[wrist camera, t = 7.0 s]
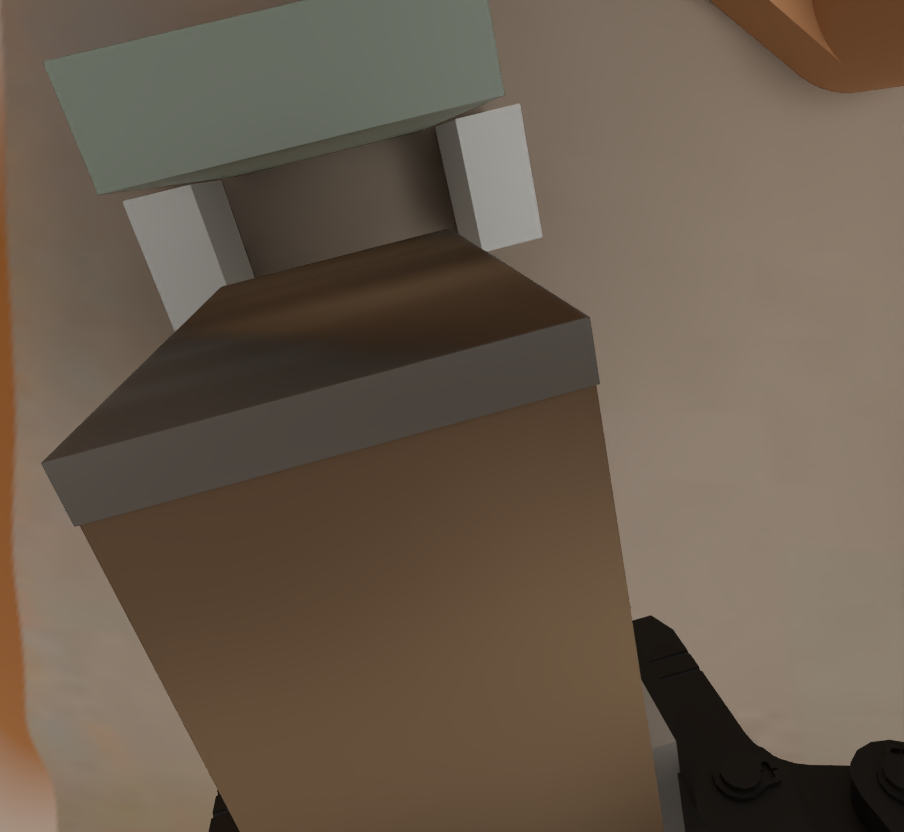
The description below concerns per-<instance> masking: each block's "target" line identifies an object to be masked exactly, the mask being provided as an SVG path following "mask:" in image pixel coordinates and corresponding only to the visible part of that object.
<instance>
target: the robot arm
mask: <svg viewBox="0 0 904 832" xmlns="http://www.w3.org/2000/svg"><path fill="white" fill-rule="evenodd" d="M632 623H633V629H634V636H635V642H636V649H637V656H638V662H639V669H640V675H641V682H642V688H643V695H644V701H645V708H646V715H647V721H648V728H649V734H650V741H651V747H652V754H653V760H654V767H655V774H656V780H657V787H658V793H659V800H660V806H661V813H662V820H663V826H664V832H904V742H899V741H894V740H884V741H876V742H870V743H869V744H867V745H865V746H864V747H862V748H860V749H858V750H857V752H856V753H855V755H854V757H853V759H852V761H851V765H850V766H834V765H805V764H796V763H792V762H789V761H786V760H782V759H779V758H777V757H775V756H773V755H772V754H770V753H769V752H768V751H767V750H765V749H764V748H762V747H759V746H757V745H756V744H755V743H753V741H752V740H751V739H750V738H749V737H748V736H747V735H746V733H745V732H744V731H743V729H742V728H741V727H740V725H739V724H738V722H737V721H736V719H735V718H734V716H733V715H732V714H731V712H730V711H729V709H728V708H727V706H726V705H725V704H724V702H723V701H722V699H721V698H720V696H719V695H718V693H717V692H716V691H715V689H714V688H713V686H712V685H711V683H710V682H709V681H708V679H707V678H706V676H705V675H704V673H703V672H702V671H700V669H699V666H698V665H697V663H696V662H695V660H694V659H693V658H692V656H691V655H690V654H689V653H688V651H687V649H686V647H685V646H684V645H683V643H682V642H681V640H680V639H679V637H678V636H677V635H676V633H675V632H674V630H673V629H671V628H670V627H668V626H667V625H665V624H663V623H662V622H660V621H659V620H657V619H656V618H654V617H653V616H647V617H644V618H640V619H637V620H633V621H632ZM217 792H218V796H216V799H215V804H214V809H213V818H212V819H211V823H210V828H209V832H240V831H239V829H238V827H237V825H236V823H235V821H234V819H233V818H232V816H231V814H230V812H229V810H228V808H227V806H226V804H225V802H224V800H223V798H222V797H221V795H220V793H219V791H218V790H217Z"/></svg>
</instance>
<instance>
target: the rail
mask: <svg viewBox="0 0 904 832" xmlns="http://www.w3.org/2000/svg"><path fill="white" fill-rule="evenodd" d="M598 384H600V382H599V375H598V368H597V362H596V355H595V348H594V342H593V335H592V328H591V322H590V317H589V316H587V315H585V314H584V313H582V312H581V311H579V310H578V309H576V308H574V307H573V306H571V305H570V304H568V303H567V302H565V301H563V300H562V299H560V298H559V297H557V296H556V295H554V294H552V293H551V292H549V291H548V290H546V289H544V288H543V287H541V286H540V285H538V284H537V283H535V282H533V281H532V280H530V279H529V278H527V277H526V276H524V275H522V274H521V273H519V272H518V271H516V270H515V269H513V268H511V267H510V266H508V265H507V264H505V263H504V262H502V261H500V260H499V259H497V258H496V257H494V256H492V255H491V254H489V253H488V252H486V251H485V250H483V249H481V248H480V247H478V246H477V245H475V244H474V243H472V242H470V241H469V240H467V239H466V238H464V237H463V236H461V235H459V234H458V233H456V232H455V231H453V230H451V229H450V228H449V229H445V230H441V231H437V232H433V233H429V234H425V235H422V236H418V237H414V238H410V239H406V240H402V241H398V242H394V243H390V244H386V245H382V246H379V247H375V248H371V249H367V250H363V251H359V252H355V253H351V254H347V255H343V256H339V257H335V258H332V259H328V260H324V261H320V262H316V263H312V264H308V265H304V266H300V267H296V268H292V269H289V270H285V271H281V272H277V273H273V274H269V275H265V276H261V277H257V278H253V279H249V280H245V281H242V282H238V283H234V284H230V285H226V286H222V287H220V288H219V289H218V290H217V291H216V292H215V293H214V294H213V295H212V296H211V297H210V298H209V299H208V300H207V301H206V302H205V303H204V304H203V305H202V306H201V307H200V308H199V309H198V310H197V311H196V312H195V313H194V314H193V315H192V316H191V317H190V318H189V319H188V320H187V321H186V322H185V323H184V324H182V325H181V326H180V327H179V328H178V329H177V330H176V331H175V332H174V333H173V334H172V335H171V336H170V337H169V338H168V339H167V340H166V341H165V342H164V343H163V344H162V345H161V346H160V347H159V348H158V349H157V350H156V351H155V352H154V353H153V354H152V355H151V356H150V357H149V358H148V359H147V360H146V361H145V362H144V363H143V364H142V365H141V366H140V367H139V368H138V369H137V370H136V371H135V372H134V373H133V374H132V375H130V376H129V377H128V378H127V379H126V380H125V381H124V382H123V383H122V384H121V385H120V386H119V387H118V388H117V389H116V390H115V391H114V392H113V393H112V394H111V395H110V396H109V397H108V398H107V399H106V400H105V401H104V402H103V403H102V404H101V405H100V406H99V407H98V408H97V409H96V410H95V411H94V412H93V413H92V414H91V415H90V416H89V417H88V418H87V419H86V420H85V421H84V422H83V423H82V424H81V425H79V426H78V427H77V428H76V429H75V430H74V431H73V432H72V433H71V434H70V435H69V436H68V437H67V438H66V439H65V440H64V441H63V442H62V443H61V444H60V445H59V446H58V447H57V448H56V449H55V450H54V451H53V452H52V453H51V454H50V455H49V456H48V457H47V458H46V459H45V460H44V461H43V462H42V463H41V464H42V466H43V468H44V470H45V472H46V474H47V476H48V478H49V479H50V481H51V483H52V485H53V487H54V489H55V491H56V493H57V495H58V496H59V498H60V500H61V502H62V504H63V506H64V508H65V510H66V512H67V514H68V515H69V517H70V519H71V521H72V523H73V525H74V527H76V526H79V525H80V527H81V529H82V531H83V533H84V535H85V537H86V539H87V540H88V542H89V544H90V546H91V548H92V550H93V552H94V554H95V556H96V558H97V560H98V561H99V563H100V565H101V567H102V569H103V571H104V573H105V575H106V577H107V579H108V581H109V583H110V584H111V586H112V588H113V590H114V592H115V594H116V596H117V598H118V600H119V602H120V604H121V605H122V607H123V609H124V611H125V613H126V615H127V617H128V619H129V621H130V623H131V625H132V626H133V628H134V630H135V632H136V634H137V636H138V638H139V640H140V642H141V644H142V646H143V647H144V649H145V651H146V653H147V655H148V657H149V659H150V661H151V663H152V665H153V667H154V669H155V670H156V672H157V674H158V676H159V678H160V680H161V682H162V684H163V686H164V688H165V690H166V691H167V693H168V695H169V697H170V699H171V701H172V703H173V705H174V707H175V709H176V711H177V712H178V714H179V716H180V718H181V720H182V722H183V724H184V726H185V728H186V730H187V732H188V733H189V735H190V737H191V739H192V741H193V743H194V745H195V747H196V749H197V751H198V753H199V755H200V756H201V758H202V760H203V762H204V764H205V766H206V768H207V770H208V772H209V774H210V776H211V777H212V779H213V781H214V783H215V785H216V787H217V789H218V791H219V793H220V795H221V797H222V798H223V800H224V802H225V804H226V806H227V808H228V810H229V812H230V814H231V816H232V818H233V819H234V821H235V823H236V825H237V827H238V829H239V831H240V832H664V826H663V820H662V813H661V806H660V800H659V793H658V787H657V780H656V774H655V767H654V760H653V754H652V747H651V741H650V734H649V728H648V721H647V715H646V708H645V701H644V695H643V688H642V682H641V675H640V669H639V662H638V656H637V649H636V642H635V636H634V629H633V623H632V616H631V610H630V603H629V596H628V590H627V583H626V577H625V570H624V564H623V557H622V551H621V544H620V537H619V531H618V524H617V518H616V511H615V505H614V498H613V491H612V485H611V478H610V472H609V465H608V459H607V452H606V446H605V439H604V432H603V426H602V419H601V413H600V406H599V400H598V393H597V386H596V385H598Z"/></svg>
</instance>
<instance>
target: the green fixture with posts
mask: <svg viewBox="0 0 904 832" xmlns="http://www.w3.org/2000/svg"><path fill="white" fill-rule="evenodd" d="M43 64H44V66H45V68H46V71H47V73H48V76H49V78H50V80H51V83H52V85H53V88H54V90H55V93H56V95H57V97H58V100H59V102H60V105H61V107H62V109H63V112H64V114H65V117H66V119H67V121H68V124H69V126H70V129H71V131H72V133H73V136H74V138H75V141H76V143H77V145H78V148H79V150H80V153H81V155H82V157H83V160H84V162H85V165H86V167H87V169H88V172H89V174H90V177H91V179H92V181H93V184H94V186H95V189H96V191H97V193H98V195H101V194H109V193H116V192H123V191H131V190H138V189H146V188H153V187H161V186H168V185H176V184H183V183H191V182H198V181H206V180H213V179H221V178H228V177H235V176H239V175H243V174H247V173H251V172H255V171H259V170H264V169H268V168H272V167H276V166H280V165H284V164H288V163H292V162H296V161H300V160H304V159H308V158H312V157H316V156H320V155H324V154H328V153H332V152H336V151H340V150H345V149H349V148H353V147H357V146H361V145H365V144H369V143H373V142H377V141H381V140H385V139H389V138H393V137H397V136H401V135H405V134H409V133H413V132H417V131H421V130H424V129H426V128H429V127H431V126H433V125H436V124H438V123H440V122H443V121H445V120H447V119H450V118H452V117H454V116H457V115H459V114H461V113H464V112H466V111H468V110H471V109H473V108H475V107H478V106H480V105H482V104H485V103H487V102H489V101H492V100H494V99H496V98H499V97H501V96H503V95H505V93H504V88H503V82H502V76H501V71H500V65H499V60H498V54H497V48H496V43H495V37H494V31H493V26H492V20H491V14H490V9H489V3H488V0H303V1H298V2H294V3H290V4H286V5H281V6H277V7H273V8H269V9H264V10H260V11H256V12H252V13H247V14H243V15H239V16H235V17H230V18H226V19H222V20H218V21H213V22H209V23H205V24H200V25H196V26H192V27H188V28H183V29H179V30H175V31H171V32H166V33H162V34H158V35H154V36H149V37H145V38H141V39H137V40H132V41H128V42H124V43H120V44H115V45H111V46H107V47H103V48H98V49H94V50H90V51H85V52H81V53H77V54H73V55H68V56H64V57H60V58H56V59H51V60H47V61H43ZM435 129H436V134H437V138H438V143H439V147H440V152H441V157H442V161H443V166H444V170H445V175H446V179H447V184H448V189H449V193H450V198H451V202H452V207H453V212H454V216H455V221H456V225H457V230H458V234H459V235H461V236H463V237H464V238H466V239H467V240H469V241H470V242H472V243H474V244H475V245H477V246H478V247H480V248H481V249H483V250H485V251H486V252H487V251H491V250H495V249H499V248H503V247H507V246H511V245H515V244H519V243H522V242H526V241H530V240H534V239H538V238H542V231H541V225H540V219H539V213H538V207H537V201H536V195H535V190H534V184H533V178H532V172H531V166H530V160H529V154H528V148H527V142H526V137H525V131H524V125H523V119H522V113H521V107H520V103H518V104H514V105H510V106H506V107H502V108H498V109H494V110H490V111H486V112H482V113H478V114H474V115H470V116H466V117H462V118H458V119H454V120H452V121H449V122H447V123H444V124H442V125H439V126H437V127H435ZM122 202H123V205H124V207H125V210H126V212H127V215H128V217H129V220H130V222H131V225H132V227H133V229H134V232H135V234H136V237H137V239H138V242H139V244H140V247H141V249H142V252H143V254H144V257H145V259H146V262H147V264H148V267H149V269H150V272H151V274H152V276H153V279H154V281H155V284H156V286H157V289H158V291H159V294H160V296H161V299H162V301H163V304H164V306H165V309H166V311H167V314H168V316H169V319H170V321H171V323H172V326H173V328H174V331H176V330H177V329H178V328H179V327H180V326H181V325H182V324H184V323H185V322H186V321H187V320H188V319H189V318H190V317H191V316H192V315H193V314H194V313H195V312H196V311H197V310H198V309H199V308H200V307H201V306H202V305H203V304H204V303H205V302H206V301H207V300H208V299H209V298H210V297H211V296H212V295H213V294H214V293H215V292H216V291H217V290H218V289H219V288H220V287H222V286H226V285H230V284H234V283H238V282H242V281H245V280H249V279H253V278H255V277H254V274H253V271H252V268H251V266H250V263H249V260H248V257H247V254H246V251H245V248H244V245H243V242H242V239H241V237H240V234H239V231H238V228H237V225H236V222H235V219H234V216H233V213H232V210H231V207H230V205H229V202H228V199H227V196H226V193H225V190H224V187H223V184H222V181H221V180H218V181H211V182H204V183H197V184H190V185H186V186H182V187H178V188H174V189H170V190H166V191H162V192H158V193H154V194H150V195H145V196H141V197H137V198H133V199H129V200H125V201H122Z"/></svg>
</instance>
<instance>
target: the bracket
mask: <svg viewBox="0 0 904 832" xmlns="http://www.w3.org/2000/svg"><path fill="white" fill-rule="evenodd" d="M710 1H711V2H712V3H713V4H715V5H716V6H717V7H718V8H719V9H721V10H722V11H723V12H724V13H725V14H727V15H728V16H729V17H730V18H731V19H733V20H734V21H735V22H736V23H737V24H739V25H740V26H741V27H742V28H743V29H745V30H746V31H747V32H748V33H749V34H751V35H752V36H753V37H754V38H755V39H756V40H758V41H759V42H760V43H761V44H762V45H764V46H765V47H766V48H767V49H768V50H770V51H771V52H772V53H773V54H774V55H776V56H777V57H778V58H779V59H780V60H782V61H783V62H784V63H785V64H786V65H788V66H789V67H790V68H791V69H792V70H794V71H795V72H796V73H797V74H798V75H800V76H801V77H802V78H803V79H805V80H806V81H808V82H810V83H811V84H813V85H815V86H817V87H820V88H822V89H826V90H829V91H834V92H841V93H853V92H862V91H869V90H877V89H884V88H891V87H899V86H904V0H710Z"/></svg>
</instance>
